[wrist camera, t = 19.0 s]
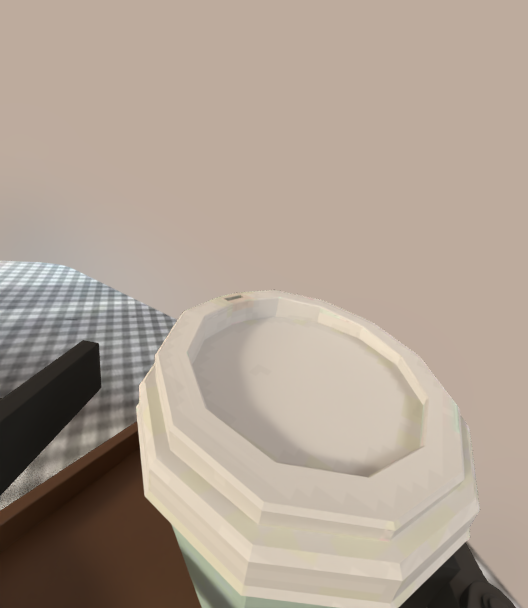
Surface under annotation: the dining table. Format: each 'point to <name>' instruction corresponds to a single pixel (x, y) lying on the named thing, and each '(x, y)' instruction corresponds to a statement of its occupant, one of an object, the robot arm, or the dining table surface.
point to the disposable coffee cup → (302, 456)
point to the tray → (93, 539)
